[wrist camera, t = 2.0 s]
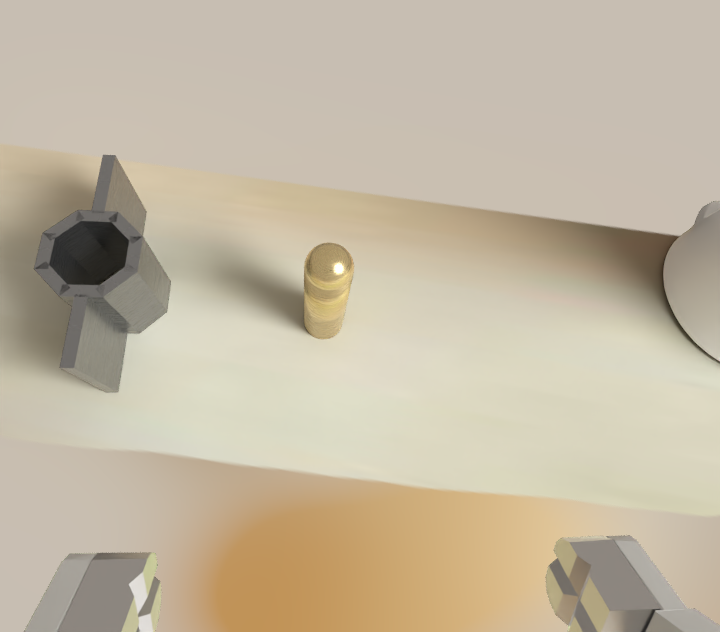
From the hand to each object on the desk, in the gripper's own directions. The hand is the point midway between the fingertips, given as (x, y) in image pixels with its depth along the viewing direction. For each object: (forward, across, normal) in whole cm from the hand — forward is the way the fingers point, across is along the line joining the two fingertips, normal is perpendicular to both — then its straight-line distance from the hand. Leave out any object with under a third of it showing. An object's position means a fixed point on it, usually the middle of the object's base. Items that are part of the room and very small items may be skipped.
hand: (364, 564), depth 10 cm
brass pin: (+28, 0, +7) cm, 29 cm away
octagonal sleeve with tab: (+29, +15, +6) cm, 33 cm away
